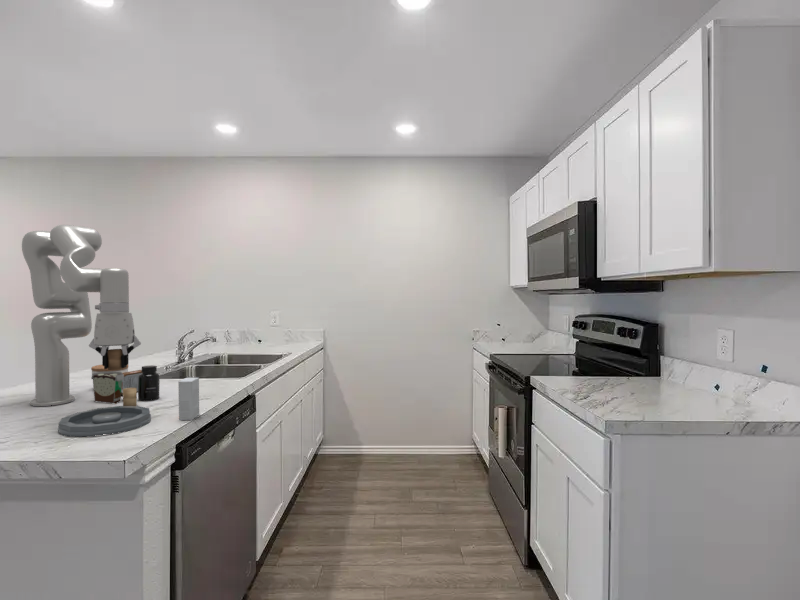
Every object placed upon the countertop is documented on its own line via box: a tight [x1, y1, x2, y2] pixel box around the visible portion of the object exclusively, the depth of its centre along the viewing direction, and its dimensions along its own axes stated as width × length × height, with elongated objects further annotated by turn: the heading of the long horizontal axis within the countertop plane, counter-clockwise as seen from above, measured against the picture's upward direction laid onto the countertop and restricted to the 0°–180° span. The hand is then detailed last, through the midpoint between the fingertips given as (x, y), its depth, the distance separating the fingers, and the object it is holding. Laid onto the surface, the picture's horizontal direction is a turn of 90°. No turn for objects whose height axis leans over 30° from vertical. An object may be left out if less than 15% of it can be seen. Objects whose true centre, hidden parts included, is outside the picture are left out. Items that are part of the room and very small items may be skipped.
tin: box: [121, 369, 142, 396], centre depth 175 cm, size 15×3×8 cm, turn 159°
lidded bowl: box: [90, 364, 129, 374], centre depth 183 cm, size 13×13×11 cm
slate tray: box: [57, 405, 152, 438], centre depth 133 cm, size 23×23×3 cm
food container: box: [91, 372, 124, 404], centre depth 162 cm, size 12×6×10 cm, turn 71°
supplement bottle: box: [137, 364, 161, 402], centre depth 165 cm, size 7×7×12 cm
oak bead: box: [122, 388, 138, 406], centre depth 154 cm, size 4×4×6 cm
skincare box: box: [178, 377, 200, 421], centre depth 141 cm, size 6×4×12 cm
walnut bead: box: [108, 348, 123, 370], centre depth 140 cm, size 4×4×6 cm
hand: (115, 367), depth 140 cm, fingers closed on walnut bead, 4 cm apart
